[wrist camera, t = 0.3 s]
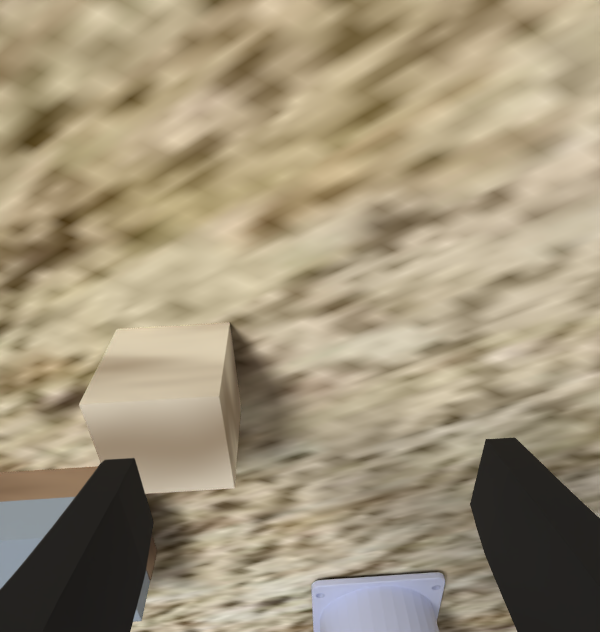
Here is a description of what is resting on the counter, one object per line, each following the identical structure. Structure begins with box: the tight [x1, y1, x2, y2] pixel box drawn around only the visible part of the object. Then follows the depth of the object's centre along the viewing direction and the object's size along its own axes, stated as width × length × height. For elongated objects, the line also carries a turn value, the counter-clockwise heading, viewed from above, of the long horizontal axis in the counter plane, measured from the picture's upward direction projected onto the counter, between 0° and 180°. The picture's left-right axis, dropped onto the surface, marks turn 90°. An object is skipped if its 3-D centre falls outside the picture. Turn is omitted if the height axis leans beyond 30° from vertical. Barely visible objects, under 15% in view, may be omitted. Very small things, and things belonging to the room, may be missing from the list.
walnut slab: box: [0, 467, 157, 580], centre depth 25 cm, size 7×7×2 cm
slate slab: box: [0, 497, 150, 622], centre depth 23 cm, size 7×7×2 cm
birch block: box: [79, 322, 241, 494], centre depth 19 cm, size 4×4×4 cm
